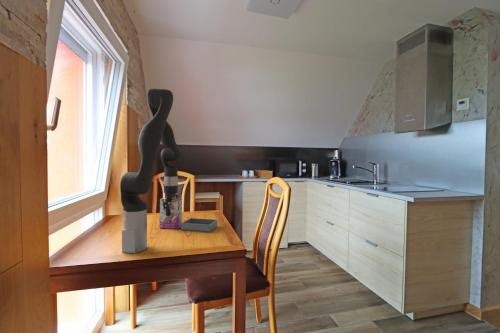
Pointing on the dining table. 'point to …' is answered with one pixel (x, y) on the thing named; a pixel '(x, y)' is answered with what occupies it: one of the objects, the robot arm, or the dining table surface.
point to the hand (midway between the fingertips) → (170, 214)
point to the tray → (199, 225)
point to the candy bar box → (171, 215)
